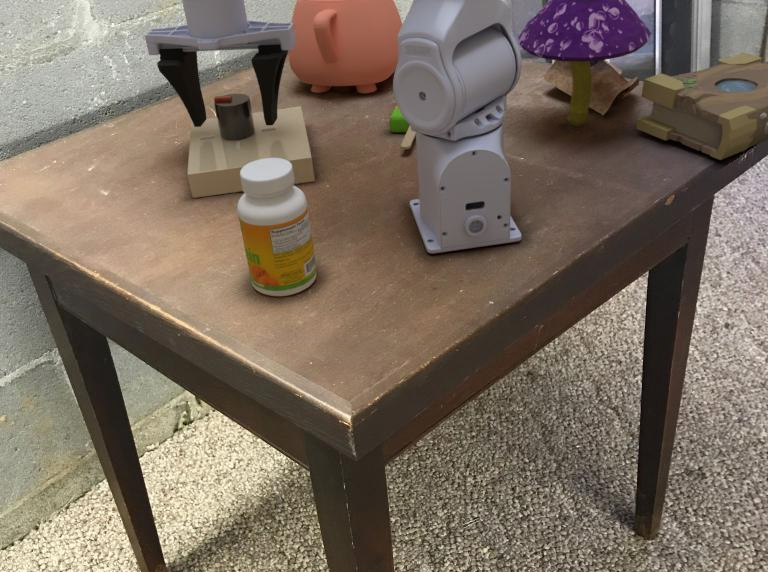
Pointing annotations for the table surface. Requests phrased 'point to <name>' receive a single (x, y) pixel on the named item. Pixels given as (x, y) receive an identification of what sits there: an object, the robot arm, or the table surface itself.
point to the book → (711, 106)
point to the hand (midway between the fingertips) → (235, 122)
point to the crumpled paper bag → (593, 82)
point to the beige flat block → (246, 152)
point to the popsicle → (402, 128)
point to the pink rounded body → (345, 43)
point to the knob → (234, 116)
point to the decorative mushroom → (583, 40)
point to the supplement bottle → (275, 228)
